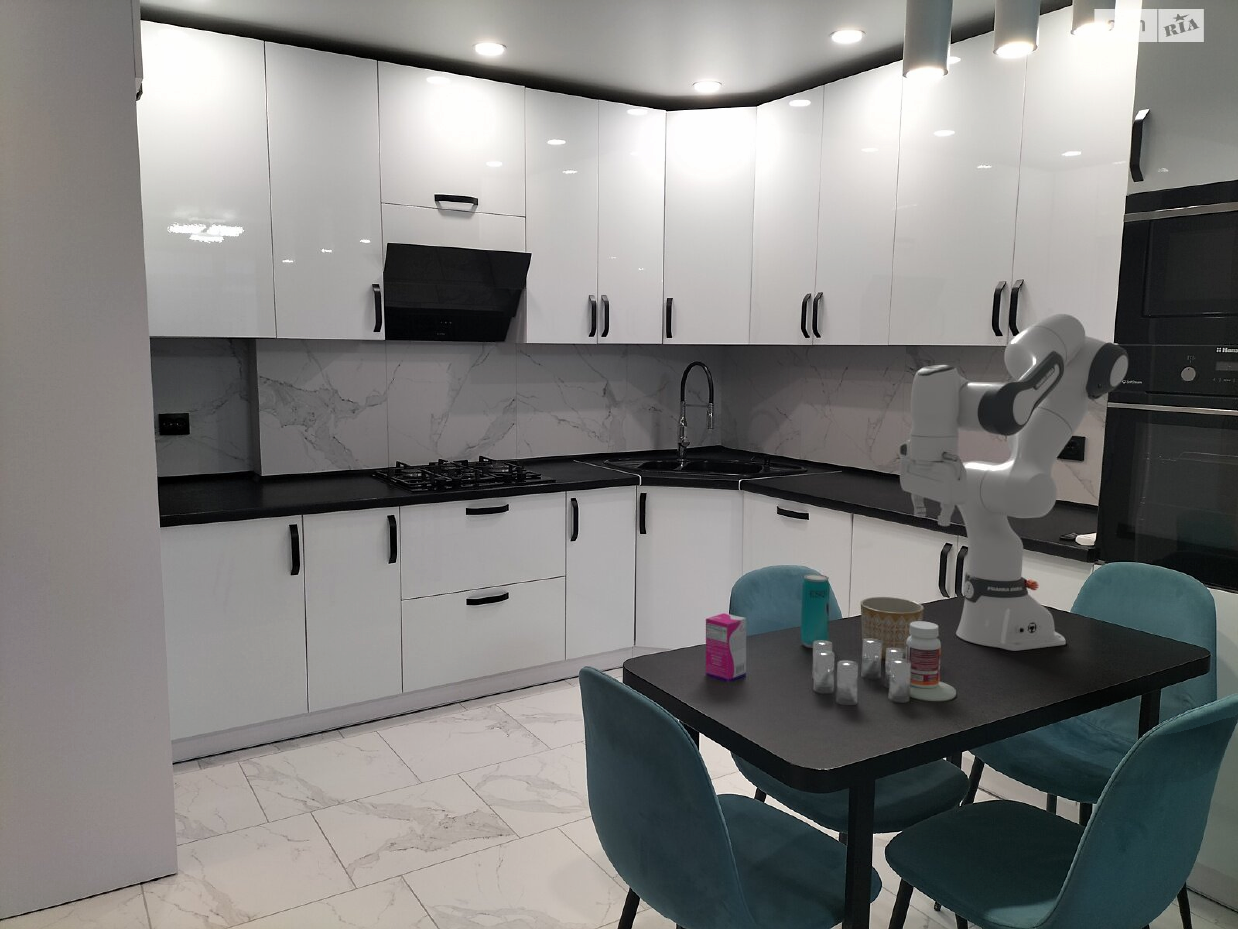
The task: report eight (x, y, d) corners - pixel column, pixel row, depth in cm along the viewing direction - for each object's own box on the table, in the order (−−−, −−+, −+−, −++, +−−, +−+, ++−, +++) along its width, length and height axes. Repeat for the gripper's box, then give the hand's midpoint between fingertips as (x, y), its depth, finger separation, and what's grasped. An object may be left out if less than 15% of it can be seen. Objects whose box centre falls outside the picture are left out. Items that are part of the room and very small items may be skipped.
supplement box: (722, 668, 179) (724, 612, 178) (746, 675, 175) (748, 618, 174) (704, 675, 175) (705, 617, 174) (728, 683, 171) (729, 624, 170)
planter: (932, 653, 190) (934, 605, 188) (902, 667, 181) (904, 616, 180) (878, 640, 199) (880, 593, 197) (847, 652, 190) (848, 604, 189)
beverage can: (830, 649, 192) (832, 580, 190) (803, 649, 192) (805, 580, 190) (824, 641, 197) (827, 574, 196) (798, 640, 197) (800, 573, 196)
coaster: (938, 680, 173) (939, 677, 173) (966, 699, 164) (966, 696, 163) (889, 683, 172) (889, 679, 172) (914, 702, 162) (914, 699, 162)
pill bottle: (945, 688, 168) (948, 629, 166) (915, 690, 166) (917, 630, 165) (927, 677, 174) (930, 619, 172) (898, 679, 172) (900, 621, 171)
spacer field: (885, 672, 178) (886, 637, 177) (923, 701, 162) (925, 664, 162) (799, 676, 175) (800, 641, 174) (830, 706, 160) (831, 668, 159)
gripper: (978, 455, 164) (975, 530, 166) (923, 444, 184) (922, 511, 186) (945, 456, 163) (943, 532, 165) (894, 445, 183) (893, 512, 185)
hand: (931, 520), depth 176 cm, fingers open, 8 cm apart
